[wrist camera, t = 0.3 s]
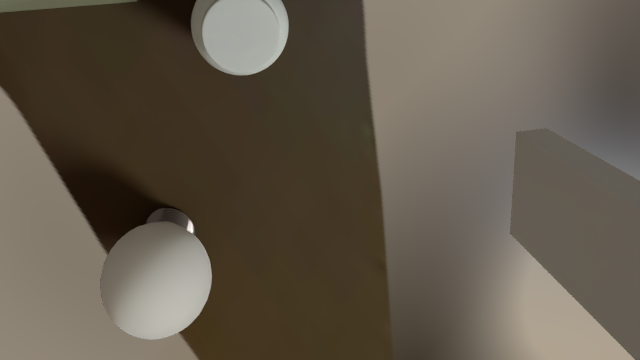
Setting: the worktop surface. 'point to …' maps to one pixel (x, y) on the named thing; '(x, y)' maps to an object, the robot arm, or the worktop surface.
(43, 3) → the tray
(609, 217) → the robot arm
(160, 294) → the light bulb
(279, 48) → the pill bottle
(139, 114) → the worktop surface
